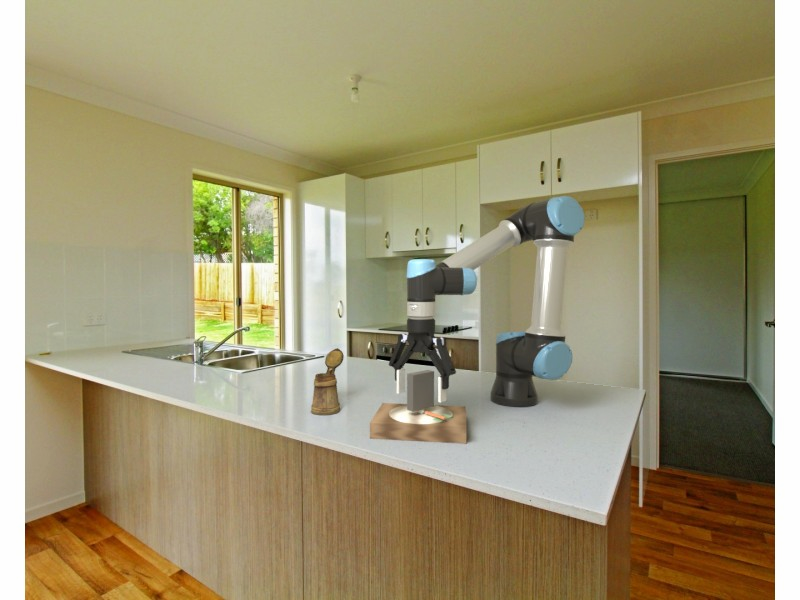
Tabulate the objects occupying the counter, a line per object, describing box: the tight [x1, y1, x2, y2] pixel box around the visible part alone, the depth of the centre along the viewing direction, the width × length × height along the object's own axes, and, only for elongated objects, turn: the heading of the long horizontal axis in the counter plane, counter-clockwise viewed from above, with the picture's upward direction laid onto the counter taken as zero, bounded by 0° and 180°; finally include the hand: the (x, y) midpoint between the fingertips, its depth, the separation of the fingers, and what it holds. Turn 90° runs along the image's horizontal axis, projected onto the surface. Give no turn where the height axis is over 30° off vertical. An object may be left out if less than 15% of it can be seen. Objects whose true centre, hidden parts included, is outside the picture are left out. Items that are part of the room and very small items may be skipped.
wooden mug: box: [310, 348, 345, 416], centre depth 134 cm, size 9×14×18 cm, turn 163°
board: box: [369, 402, 467, 444], centre depth 116 cm, size 24×18×4 cm
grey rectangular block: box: [406, 369, 446, 420], centre depth 113 cm, size 8×10×11 cm
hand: (420, 397), depth 116 cm, fingers open, 13 cm apart
